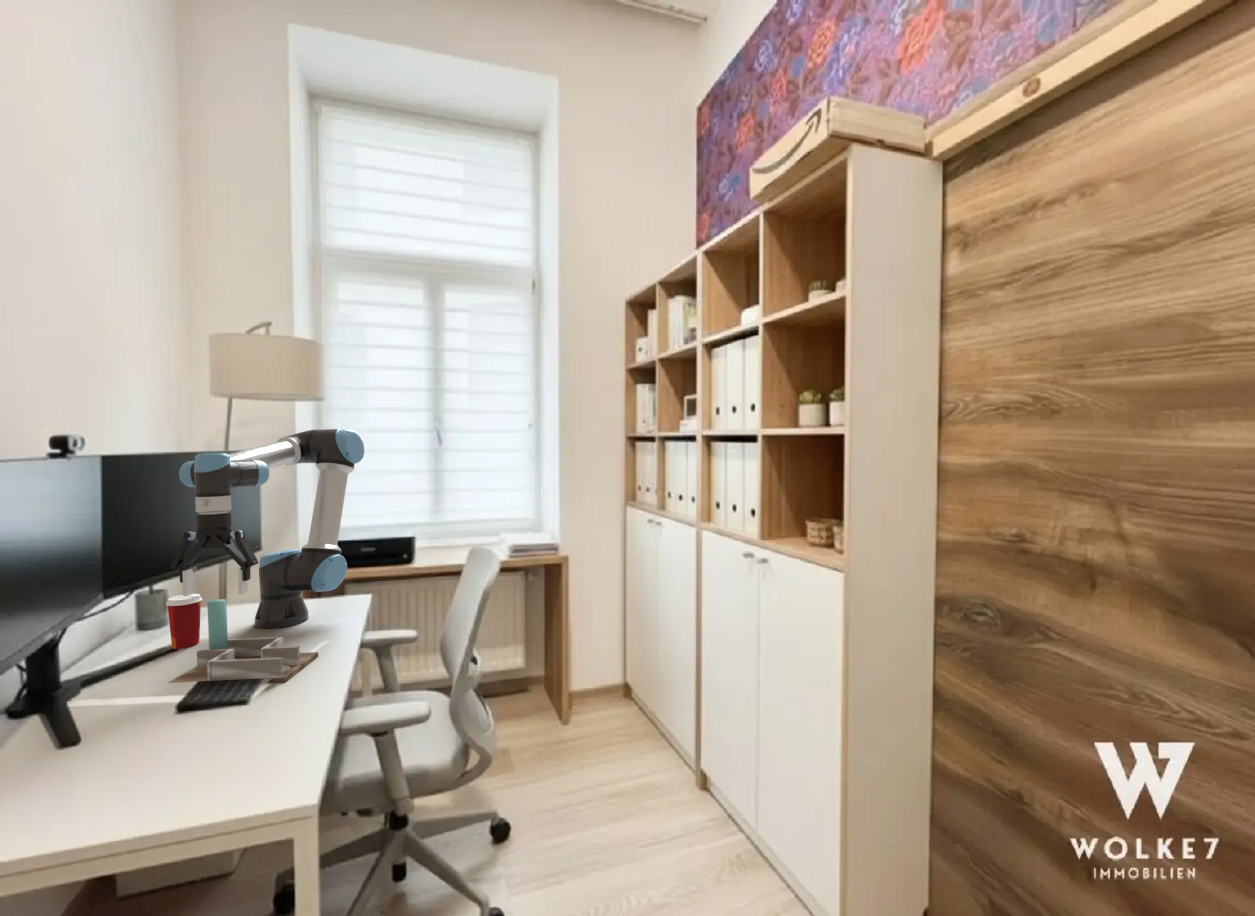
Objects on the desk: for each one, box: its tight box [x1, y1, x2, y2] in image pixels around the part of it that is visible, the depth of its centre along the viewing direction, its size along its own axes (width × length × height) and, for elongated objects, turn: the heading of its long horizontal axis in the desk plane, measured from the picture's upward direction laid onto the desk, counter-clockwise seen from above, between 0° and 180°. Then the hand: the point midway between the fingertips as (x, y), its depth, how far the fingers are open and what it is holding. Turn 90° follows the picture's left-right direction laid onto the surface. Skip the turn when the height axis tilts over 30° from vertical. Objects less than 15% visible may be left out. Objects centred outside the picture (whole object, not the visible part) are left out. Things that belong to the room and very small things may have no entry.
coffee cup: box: [165, 593, 203, 650], centre depth 164 cm, size 8×8×15 cm
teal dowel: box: [207, 598, 229, 650], centre depth 150 cm, size 4×4×16 cm
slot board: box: [168, 636, 319, 684], centre depth 147 cm, size 17×27×6 cm, turn 94°
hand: (215, 594), depth 150 cm, fingers open, 13 cm apart
